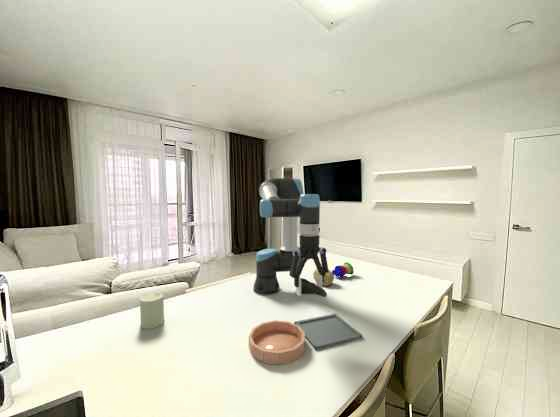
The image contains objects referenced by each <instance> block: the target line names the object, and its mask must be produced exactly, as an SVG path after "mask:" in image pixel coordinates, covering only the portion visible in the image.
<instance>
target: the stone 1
mask: <svg viewBox="0 0 560 417" xmlns="http://www.w3.org/2000/svg"><path fill="white" fill-rule="evenodd" d="M328 271H329V272H328V273H326V275H325V276H324V283H322V285H323V286H322V287H327V286H330V285H332V284H333V282H334V279H335V275H334V274H333V273H332V270H330V269H328ZM317 274H319V272H318V269H317V268H316V269H315V270H314V271H313V274H312V277H313V279H314V281H315V282H316V283H317Z"/></svg>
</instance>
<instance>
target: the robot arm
mask: <svg viewBox="0 0 560 417" xmlns="http://www.w3.org/2000/svg"><path fill="white" fill-rule="evenodd" d="M258 192H259V196H260V197H261V198H262V199H260V201H259V215H260V217H261V218H268V219H270V218H282V245H281V246H280V247H279V251H277V249H276V248H266V249H265V248H264V249H262V250H261V249H260V250H259V251H257V252H256V256H255V257H256V259H255V262H256V263H255V264H256V266H255V267H256V268H255V269H256V270H255V271H256V272H255V273H256V274H255V276H256V277H255V281H254V283H253V286H252V288H253V292H254V293H255V294H258V295H264V296H265V295H267V296H268V295H273V294H277V293H278V292H280V283H279V281H278V278H277V273H278V272H279V273H282V272H289V276H290V277H291V278H293V285H294V287H295V293H296V294H295V295H297V296H298V297H302V294H301V278H302V277H301V274H302V271H303V269H304V267H305V264H306V263H307V262H308V260H313V262H314V265H315V266H316V269H318V272H319V274H317V282H316V285H317V286H318V287H320V288H323V286H322V283H324V276H325V275H326V273H328V272H329V271H328V270H329V265H328V260H327V254H326V253H327V249H326V248H325V247H320V235H319V234H320V221H321V220H320V212H321V211H320V210H321V209H320V208H321V206H320V205H321V202H320V201H321V200H320V195H319V194H317V193H316V194H315V193H311V194H310V193H308V194H307V193H304V188H303V184H302V181H301V179H299V178H296V177H295V178H293V177H290V178H289V177H285V178H284V177H283V178H282V177H281V178H280V177H279V178H278V177H273V178H269V179H266V180H264V181H263V182H262V183H261V184H260V185H259V188H258ZM298 218H299V234H300V235H299V246H298ZM318 254H319V255H318Z"/></svg>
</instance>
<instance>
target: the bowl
mask: <svg viewBox="0 0 560 417" xmlns="http://www.w3.org/2000/svg"><path fill="white" fill-rule="evenodd" d="M305 346H306V338H305V333H304V331H303V330H302V329H301V328H300V327H299V326H298V325H295V324H294V323H293V322H290V321H287V320H277V319H276V320H271V321H265V322H261V323H259V324H258V325H256V326H254V327H253V328H252V329H251V331H250V333H249V335H248V348H249V352H250V354H251V356H252V357H253V358H255V360H257V361H259V362H261V363H263V364H266V365H276V366H278V365H279V366H280V365H287V364H290V363H293V362H295V361H297V360H298V359H299V358H301V357H302V355H303V354H304V352H305ZM296 359H297V360H296Z"/></svg>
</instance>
